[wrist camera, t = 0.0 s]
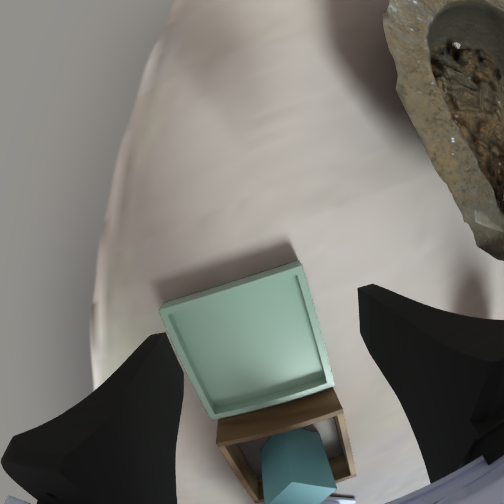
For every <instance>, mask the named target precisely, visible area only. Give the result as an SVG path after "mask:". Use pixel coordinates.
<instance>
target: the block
mask: <svg viewBox="0 0 504 504" xmlns="http://www.w3.org/2000/svg"><path fill="white" fill-rule="evenodd" d="M260 455H261V467H262V479H263V491H264V503H265V504H320V503H321V502H322V501H323V500H325V499H326V498H327V497H328V496H329V495H330V494H331V493H333V492H334V491H335V490H336V489H337V487H336V484H335V481H334V477H333V474H332V471H331V468H330V465H329V462H328V459H327V456H326V452H325V449H324V446H323V443H322V440H321V437H320V434H319V433H316V432H312V431H309V430H305V429H301V428H297V429H294V430H290V431H286V432H283V433H279V434H275V435H272V436H271V437H270V438H269V439H268V441H267V442H266V443H265V444H264V446H263V447H262V448H261V449H260Z"/></svg>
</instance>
